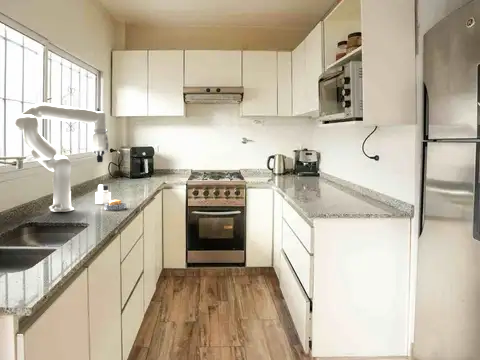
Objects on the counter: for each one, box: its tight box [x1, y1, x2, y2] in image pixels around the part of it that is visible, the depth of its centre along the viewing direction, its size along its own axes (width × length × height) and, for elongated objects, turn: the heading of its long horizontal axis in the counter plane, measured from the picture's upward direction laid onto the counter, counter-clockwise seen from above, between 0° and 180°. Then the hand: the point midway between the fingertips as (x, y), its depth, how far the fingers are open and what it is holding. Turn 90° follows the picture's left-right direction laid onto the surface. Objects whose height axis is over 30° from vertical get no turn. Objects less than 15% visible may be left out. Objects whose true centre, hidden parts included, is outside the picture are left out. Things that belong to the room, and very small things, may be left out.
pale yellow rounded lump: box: [109, 199, 122, 205], centre depth 282 cm, size 7×7×4 cm
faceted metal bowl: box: [103, 201, 127, 211], centre depth 282 cm, size 13×13×3 cm
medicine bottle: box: [95, 184, 112, 205], centre depth 303 cm, size 7×7×12 cm
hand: (99, 162), depth 291 cm, fingers closed
